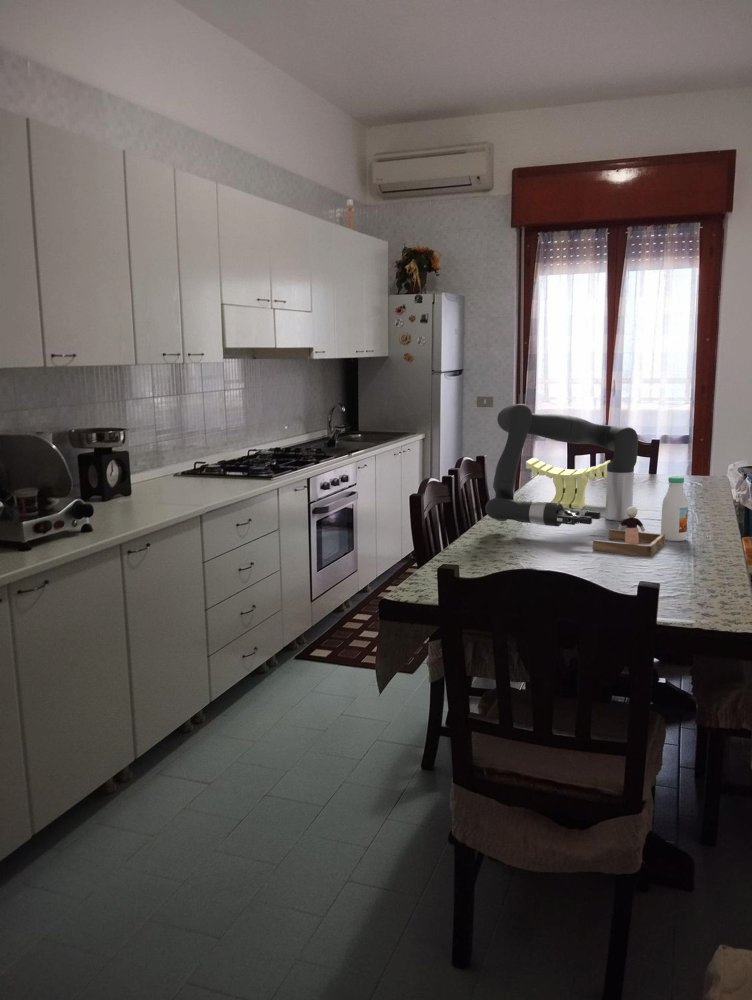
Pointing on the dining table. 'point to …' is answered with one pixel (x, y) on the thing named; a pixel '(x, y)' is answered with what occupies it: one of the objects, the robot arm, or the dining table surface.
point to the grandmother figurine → (631, 526)
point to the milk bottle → (675, 511)
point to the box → (626, 548)
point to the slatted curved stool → (568, 481)
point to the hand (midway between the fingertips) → (595, 518)
